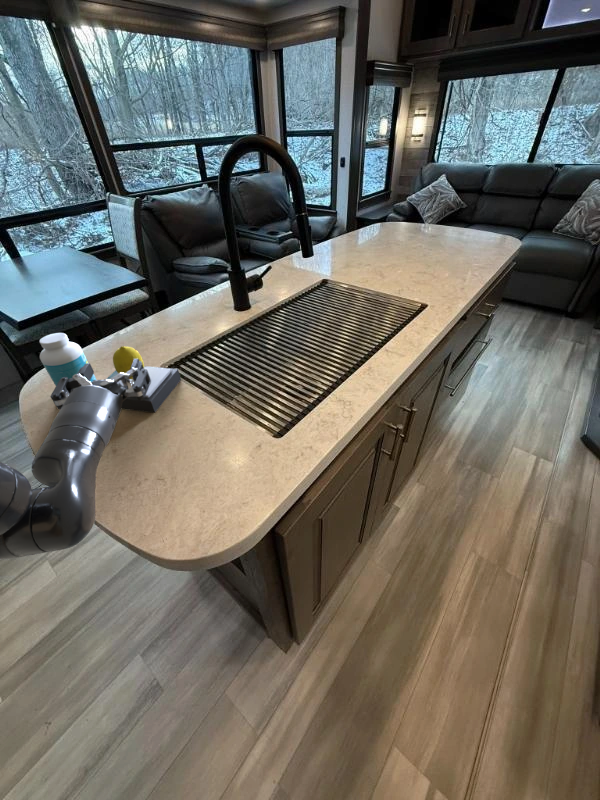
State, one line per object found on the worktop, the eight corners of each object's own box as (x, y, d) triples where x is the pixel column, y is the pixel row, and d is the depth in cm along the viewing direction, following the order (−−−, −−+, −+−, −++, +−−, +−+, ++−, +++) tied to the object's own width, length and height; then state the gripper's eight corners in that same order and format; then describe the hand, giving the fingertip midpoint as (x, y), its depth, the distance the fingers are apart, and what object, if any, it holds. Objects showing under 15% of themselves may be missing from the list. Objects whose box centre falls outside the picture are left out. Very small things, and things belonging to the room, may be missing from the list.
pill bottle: (106, 389, 75) (81, 335, 67) (74, 406, 70) (43, 350, 62) (88, 379, 78) (61, 326, 70) (56, 395, 73) (23, 340, 65)
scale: (94, 406, 70) (87, 392, 68) (126, 374, 79) (121, 361, 77) (155, 412, 68) (149, 399, 66) (181, 379, 77) (177, 366, 75)
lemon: (153, 374, 73) (142, 342, 68) (136, 388, 69) (123, 355, 64) (133, 370, 74) (121, 338, 69) (115, 383, 70) (100, 351, 65)
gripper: (128, 396, 48) (147, 343, 61) (21, 409, 46) (64, 351, 59) (144, 434, 53) (159, 377, 65) (47, 446, 51) (81, 385, 63)
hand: (114, 365), depth 62 cm, fingers open, 8 cm apart
